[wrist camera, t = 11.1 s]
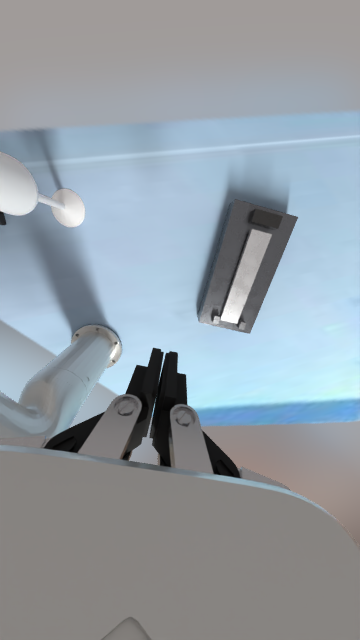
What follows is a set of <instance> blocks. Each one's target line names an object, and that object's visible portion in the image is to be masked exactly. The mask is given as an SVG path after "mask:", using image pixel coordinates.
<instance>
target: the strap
mask: <svg viewBox="0 0 360 640" xmlns="http://www.w3.org/2000/svg"><path fill="white" fill-rule="evenodd" d="M271 236H272V234H269V233H265V232H261V231H258V230H254V229H250V231H249V234H248V237H247V240H246V243H245V246H244V249H243V252H242V254H241V257H240V260H239V263H238V266H237V269H236V272H235V275H234V278H233V280H232V283H231V286H230V289H229V292H228V295H227V298H226V301H225V304H224V306H223V309H222V312H221V315H220V320H222V321H227V322H231V323H235V324H237V323H238V320H239V318H240V315H241V312H242V310H243V307H244V305H245V302H246V300H247V297H248V295H249V292H250V290H251V287H252V284H253V282H254V279H255V277H256V274H257V272H258V269H259V267H260V264H261V261H262V259H263V256H264V254H265V251H266V249H267V246H268V244H269V241H270V238H271Z"/></svg>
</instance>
